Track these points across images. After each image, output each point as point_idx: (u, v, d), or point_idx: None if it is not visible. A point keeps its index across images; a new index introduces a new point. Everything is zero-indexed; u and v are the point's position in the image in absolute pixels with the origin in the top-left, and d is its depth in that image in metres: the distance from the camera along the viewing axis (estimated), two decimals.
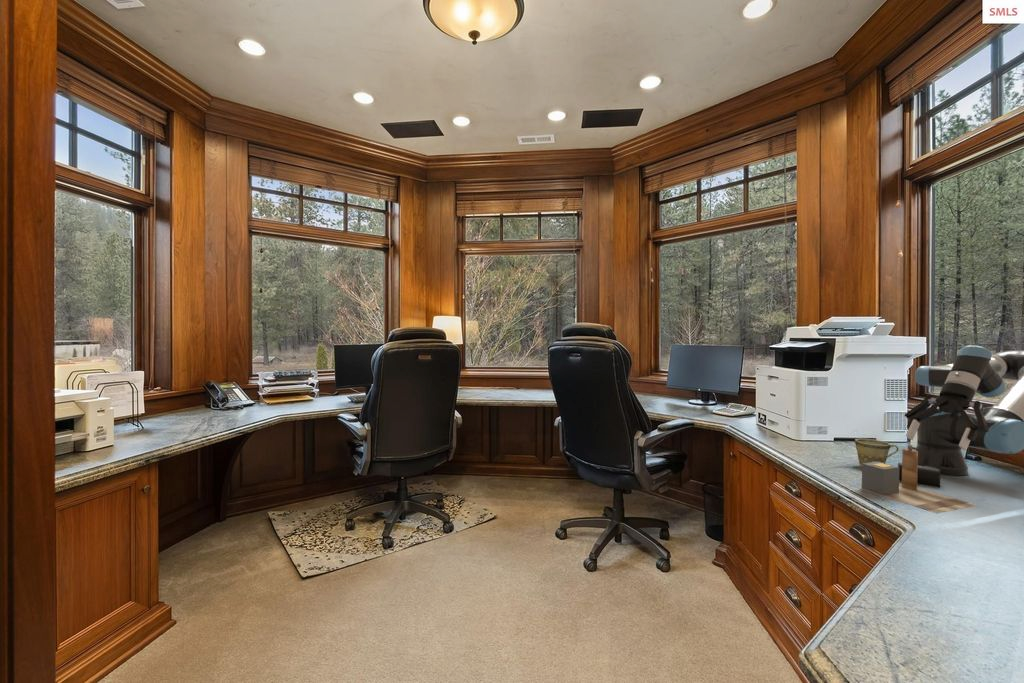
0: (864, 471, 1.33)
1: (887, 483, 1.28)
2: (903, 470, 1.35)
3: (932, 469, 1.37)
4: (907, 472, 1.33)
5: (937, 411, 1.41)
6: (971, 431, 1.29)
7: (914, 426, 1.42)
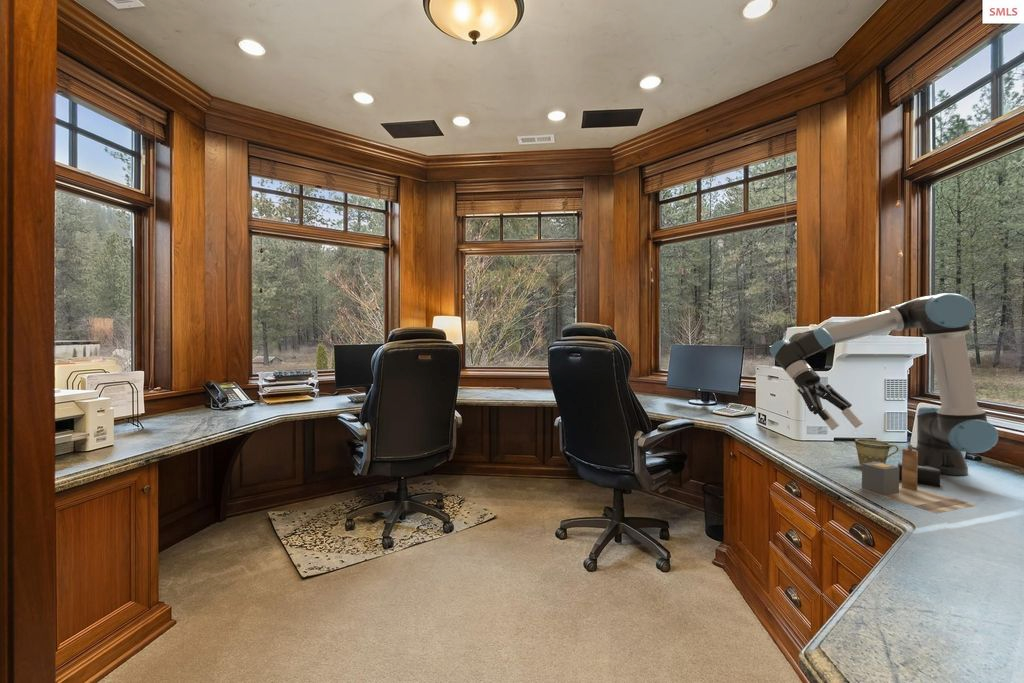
0: (864, 471, 1.33)
1: (887, 483, 1.28)
2: (903, 470, 1.35)
3: (932, 469, 1.37)
4: (907, 472, 1.33)
5: (827, 395, 1.50)
6: None
7: (847, 415, 1.46)
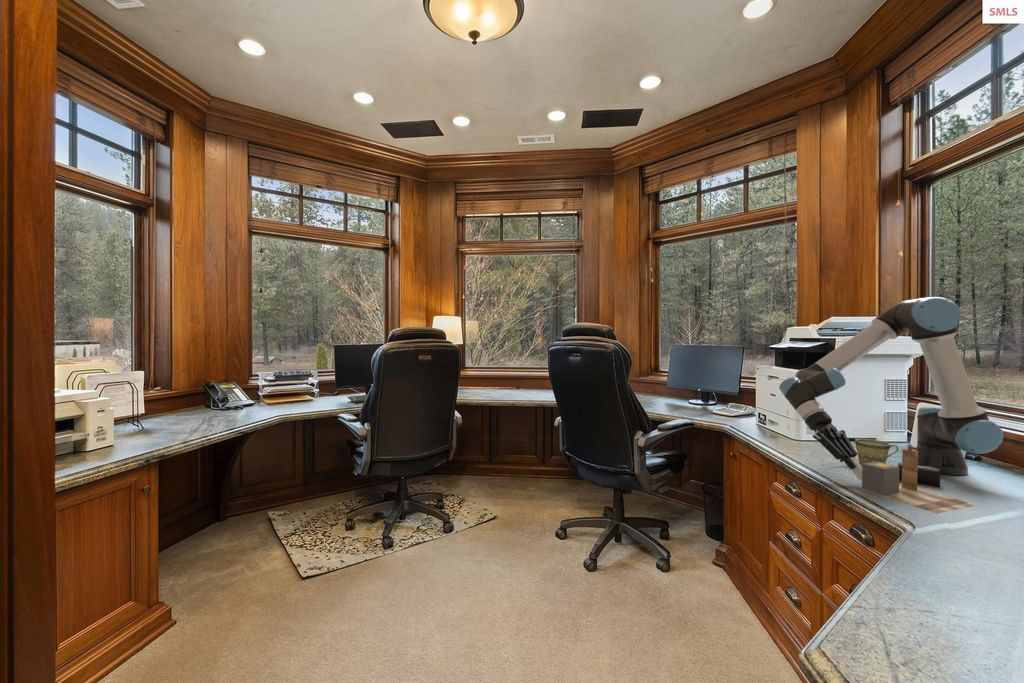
0: (864, 471, 1.33)
1: (887, 483, 1.28)
2: (903, 470, 1.35)
3: (932, 469, 1.37)
4: (907, 472, 1.33)
5: (836, 439, 1.44)
6: None
7: None
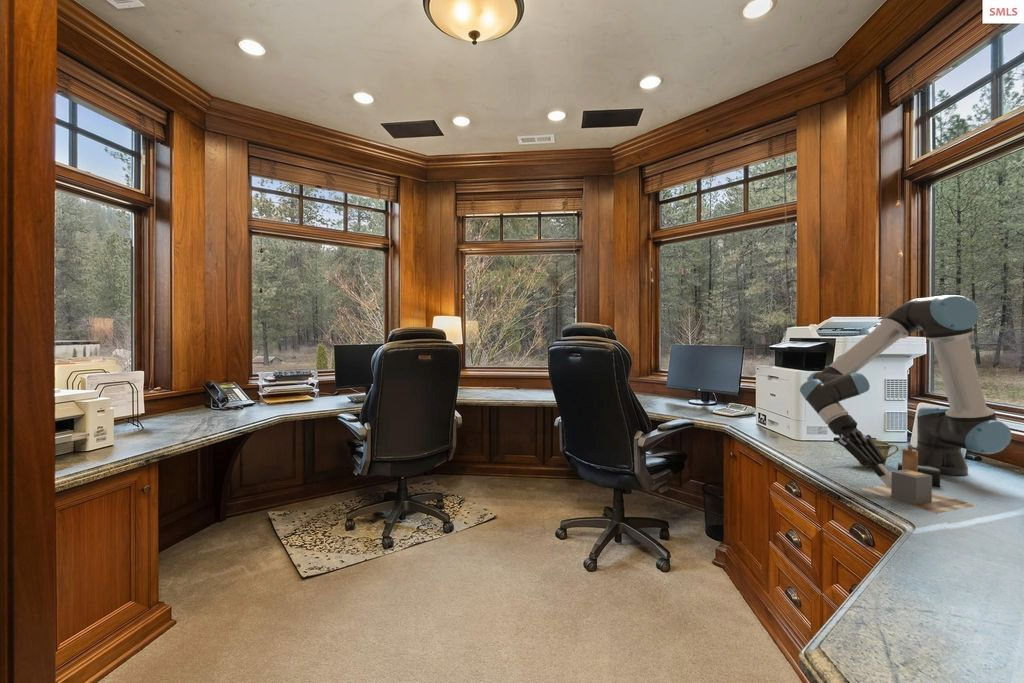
0: (894, 479, 1.25)
1: (919, 493, 1.21)
2: None
3: (932, 469, 1.37)
4: None
5: (862, 444, 1.37)
6: None
7: None
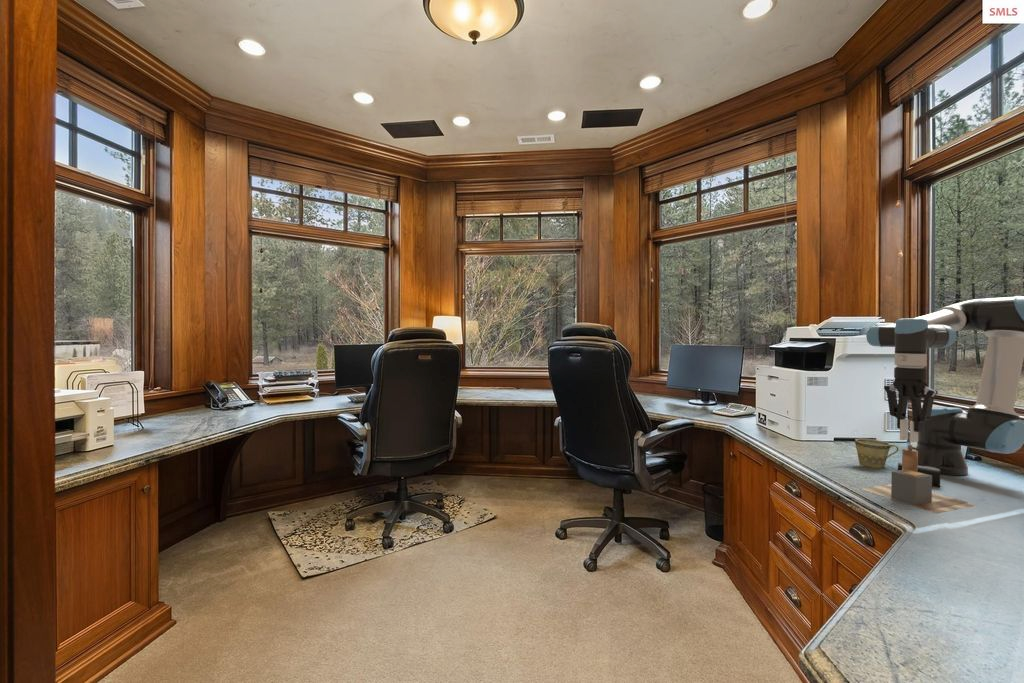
0: (894, 479, 1.25)
1: (919, 493, 1.21)
2: None
3: (932, 469, 1.37)
4: None
5: (906, 397, 1.35)
6: (915, 424, 1.32)
7: (904, 426, 1.35)
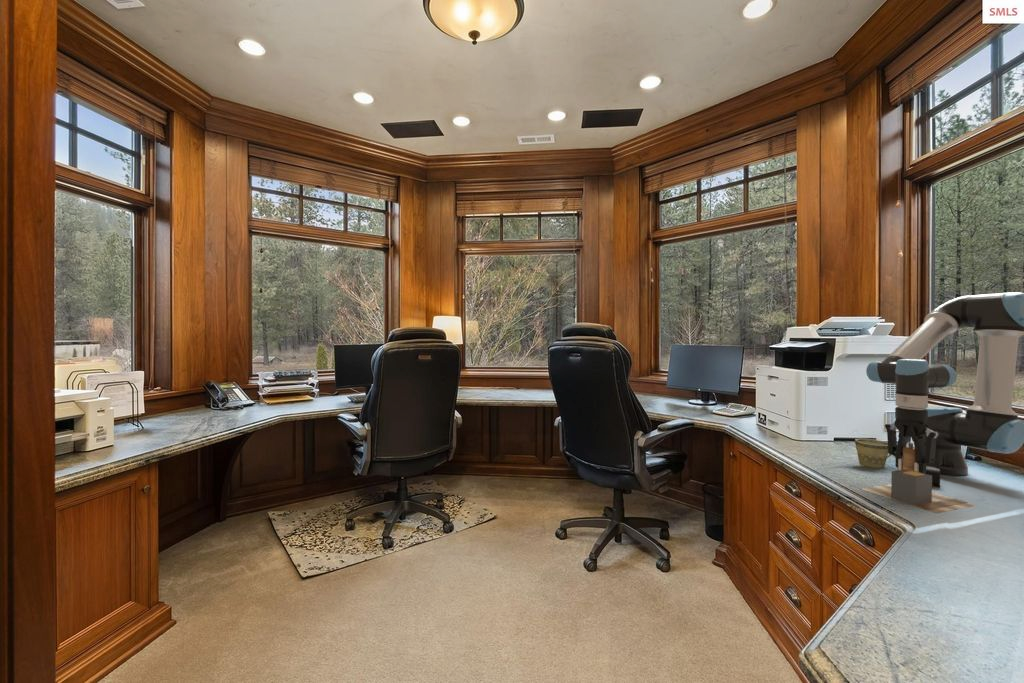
0: (894, 479, 1.25)
1: (919, 493, 1.21)
2: (904, 468, 1.35)
3: (932, 469, 1.37)
4: None
5: (906, 437, 1.36)
6: (920, 465, 1.31)
7: (902, 465, 1.36)
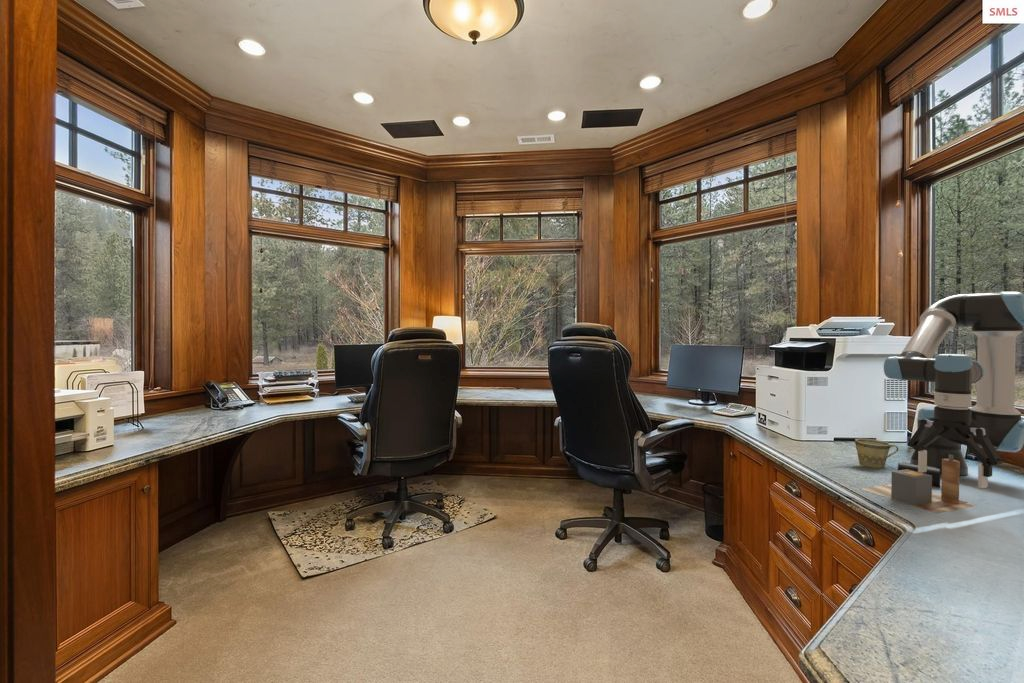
0: (894, 479, 1.25)
1: (919, 493, 1.21)
2: (943, 482, 1.23)
3: (932, 469, 1.37)
4: (948, 485, 1.22)
5: (939, 436, 1.26)
6: (985, 467, 1.16)
7: (923, 458, 1.29)
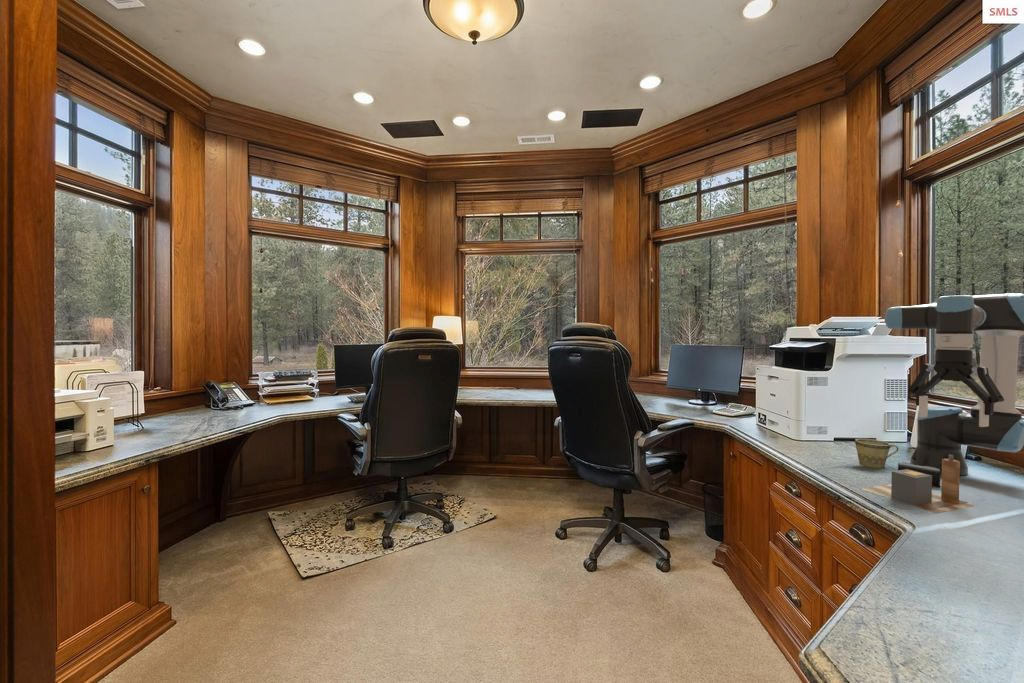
0: (894, 479, 1.25)
1: (919, 493, 1.21)
2: (943, 482, 1.23)
3: (932, 469, 1.37)
4: (948, 485, 1.22)
5: (940, 380, 1.26)
6: (986, 406, 1.15)
7: (923, 403, 1.29)
